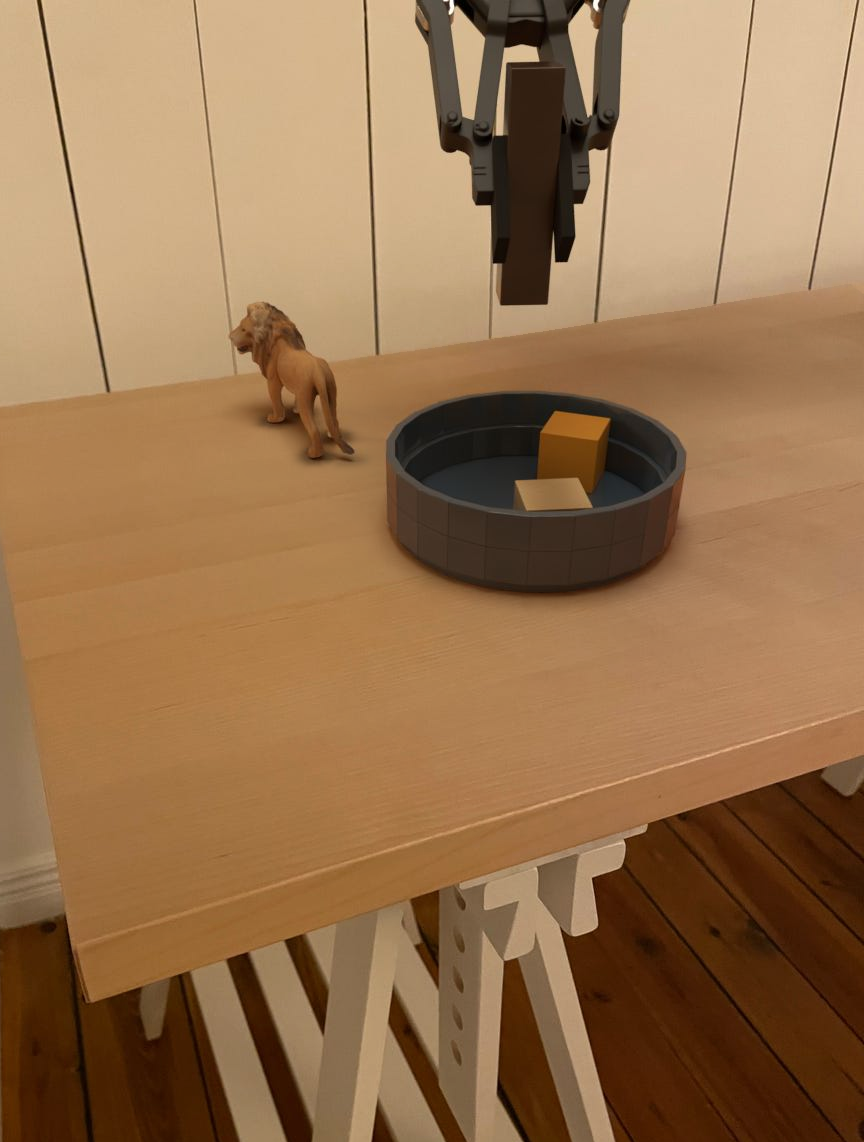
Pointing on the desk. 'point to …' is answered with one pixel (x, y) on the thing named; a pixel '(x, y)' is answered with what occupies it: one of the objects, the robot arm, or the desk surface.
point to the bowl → (509, 453)
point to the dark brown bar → (531, 178)
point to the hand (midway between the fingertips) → (533, 249)
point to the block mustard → (574, 448)
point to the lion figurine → (290, 370)
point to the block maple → (550, 495)
